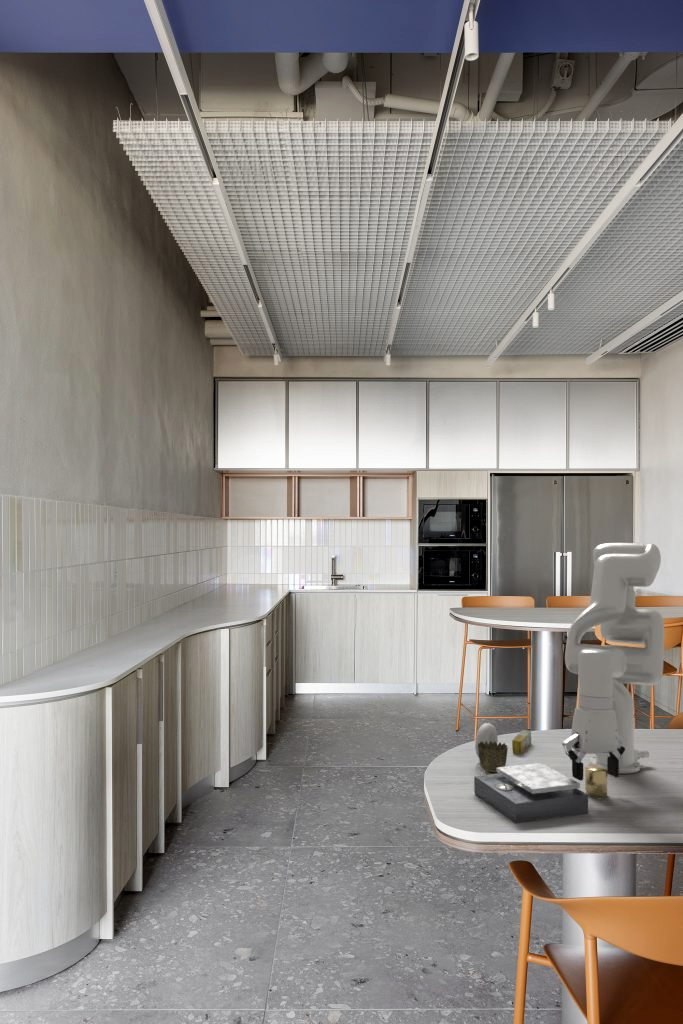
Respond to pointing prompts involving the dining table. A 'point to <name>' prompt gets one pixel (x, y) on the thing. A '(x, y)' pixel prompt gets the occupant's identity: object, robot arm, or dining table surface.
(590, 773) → the brass weight
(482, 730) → the grey rounded slab
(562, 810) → the scale
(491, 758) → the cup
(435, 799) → the dining table surface
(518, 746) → the medication box
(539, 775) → the scale pan
